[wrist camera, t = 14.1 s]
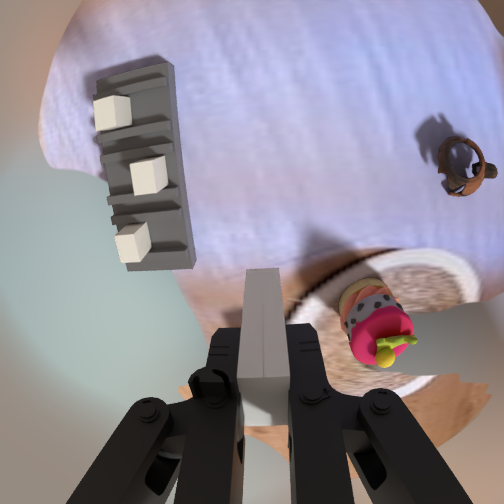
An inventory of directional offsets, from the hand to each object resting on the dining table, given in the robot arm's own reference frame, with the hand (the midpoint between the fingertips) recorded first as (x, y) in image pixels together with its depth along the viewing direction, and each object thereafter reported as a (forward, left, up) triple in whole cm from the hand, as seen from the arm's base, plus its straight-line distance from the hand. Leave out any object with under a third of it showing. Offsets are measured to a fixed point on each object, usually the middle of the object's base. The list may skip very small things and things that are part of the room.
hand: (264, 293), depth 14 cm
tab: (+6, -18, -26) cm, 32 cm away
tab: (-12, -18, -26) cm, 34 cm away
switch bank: (-3, -17, -29) cm, 34 cm away
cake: (+22, +17, -30) cm, 41 cm away
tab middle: (-3, -14, -26) cm, 30 cm away
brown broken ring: (-2, +33, -30) cm, 44 cm away
